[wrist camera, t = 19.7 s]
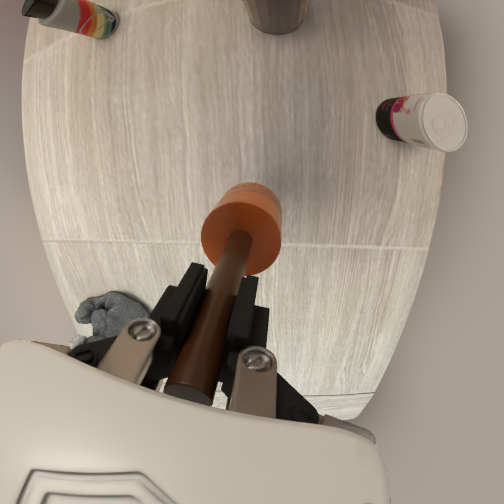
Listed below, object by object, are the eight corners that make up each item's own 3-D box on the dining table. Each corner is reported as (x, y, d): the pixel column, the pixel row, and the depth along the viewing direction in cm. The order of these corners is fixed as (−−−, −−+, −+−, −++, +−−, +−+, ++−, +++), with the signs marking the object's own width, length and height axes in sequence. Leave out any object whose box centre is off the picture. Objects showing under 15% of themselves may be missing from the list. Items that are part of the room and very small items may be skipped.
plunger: (259, 170, 22) (192, 309, 6) (293, 222, 24) (305, 419, 7) (207, 203, 24) (84, 360, 8) (242, 251, 25) (186, 439, 9)
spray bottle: (119, 32, 30) (38, 7, 12) (93, 44, 31) (11, 29, 13) (120, 8, 27) (45, -24, 10) (94, 20, 28) (17, -2, 10)
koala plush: (82, 298, 56) (36, 352, 39) (125, 273, 51) (71, 337, 33) (125, 349, 62) (93, 407, 45) (174, 335, 57) (143, 406, 39)
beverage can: (368, 106, 33) (412, 100, 20) (403, 94, 31) (456, 86, 18) (385, 145, 35) (433, 160, 22) (418, 133, 33) (474, 144, 20)
